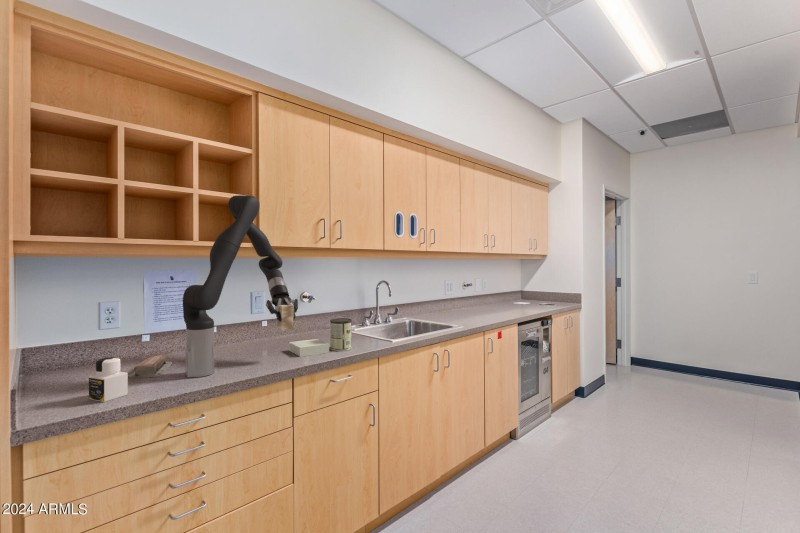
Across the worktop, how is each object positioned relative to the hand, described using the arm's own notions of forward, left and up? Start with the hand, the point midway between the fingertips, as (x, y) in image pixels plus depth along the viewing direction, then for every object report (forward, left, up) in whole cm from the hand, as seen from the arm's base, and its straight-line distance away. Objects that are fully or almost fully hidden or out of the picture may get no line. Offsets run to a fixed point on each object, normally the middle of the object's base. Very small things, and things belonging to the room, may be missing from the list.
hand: (287, 319), depth 162 cm
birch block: (0, +2, -4) cm, 5 cm away
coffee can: (+29, +8, -18) cm, 35 cm away
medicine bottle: (-60, -11, -18) cm, 63 cm away
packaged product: (-48, +15, -18) cm, 53 cm away
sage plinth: (+14, +11, -18) cm, 25 cm away
